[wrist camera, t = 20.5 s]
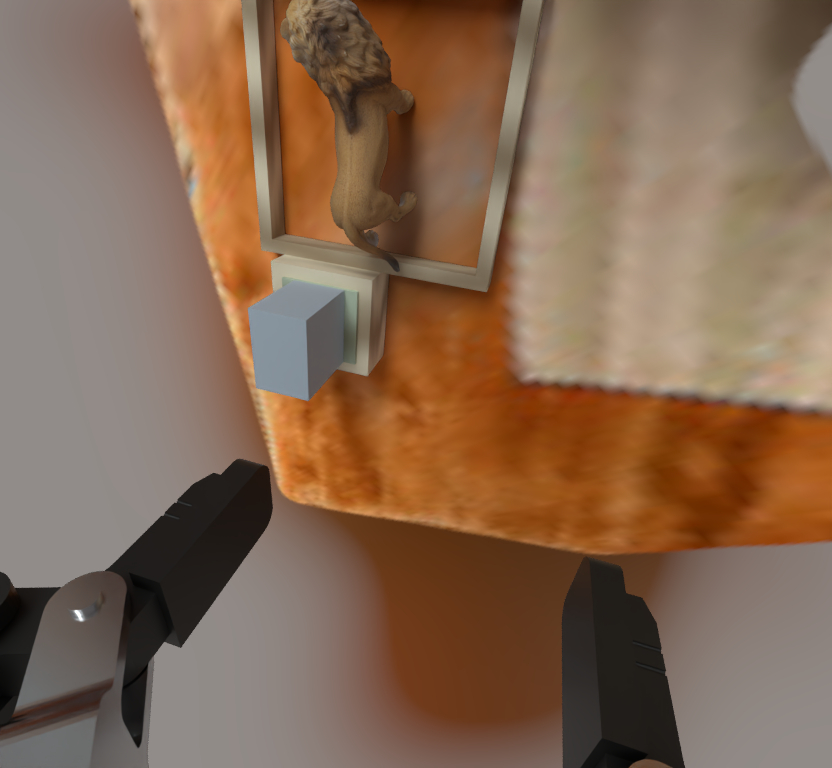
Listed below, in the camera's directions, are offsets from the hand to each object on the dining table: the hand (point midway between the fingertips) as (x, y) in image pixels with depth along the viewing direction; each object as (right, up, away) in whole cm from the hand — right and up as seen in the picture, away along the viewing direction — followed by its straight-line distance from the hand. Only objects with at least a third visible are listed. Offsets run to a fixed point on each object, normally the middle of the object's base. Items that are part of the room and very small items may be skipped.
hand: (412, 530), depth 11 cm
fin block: (-7, +8, +24) cm, 26 cm away
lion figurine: (-2, +19, +20) cm, 28 cm away
